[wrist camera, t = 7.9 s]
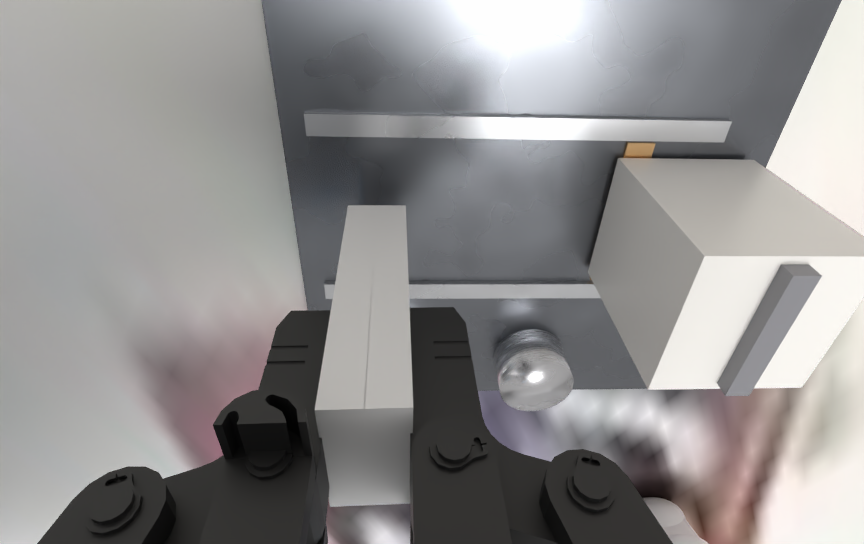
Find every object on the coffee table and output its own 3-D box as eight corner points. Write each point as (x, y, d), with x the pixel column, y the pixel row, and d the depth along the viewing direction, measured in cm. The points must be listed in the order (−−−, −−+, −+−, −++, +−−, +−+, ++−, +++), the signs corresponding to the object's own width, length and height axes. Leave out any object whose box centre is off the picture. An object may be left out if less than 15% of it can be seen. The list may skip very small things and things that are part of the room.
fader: (587, 272, 16) (654, 402, 12) (617, 157, 14) (714, 267, 10) (704, 272, 17) (812, 400, 12) (753, 160, 14) (908, 267, 10)
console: (326, 356, 21) (313, 426, 18) (264, -122, 12) (218, -134, 9) (646, 353, 22) (682, 420, 19) (824, -98, 13) (950, -102, 10)
